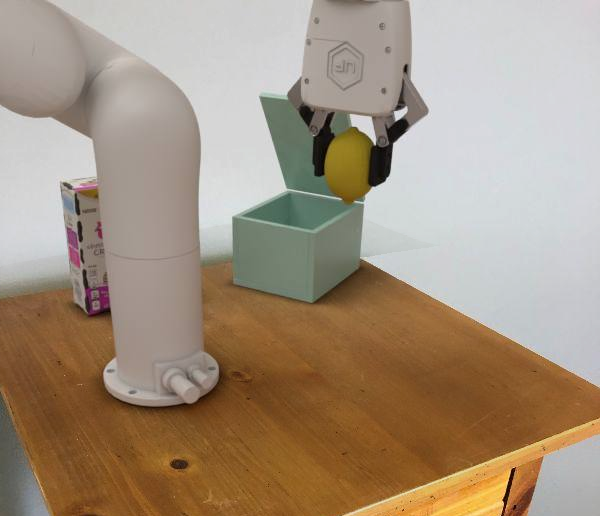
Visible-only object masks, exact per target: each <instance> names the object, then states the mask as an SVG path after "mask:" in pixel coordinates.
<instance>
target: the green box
mask: <svg viewBox="0 0 600 516" xmlns="http://www.w3.org/2000/svg"><path fill="white" fill-rule="evenodd" d="M364 209H365V203H363V202H357V201H354V202H353V203H352V204H351V205H346V204H345V203H344V202H343V200H342V199H340V198H335V197H329V196H324V195H318V194H312V193H307V192H301V191H296V190H290V189H286V191H283V192H281V193H279V194H277V195H275V196H272V197H270V198H268V199H265V200H264V201H262V202H260V203H257V204H255V205H254V206H252V207H249V208H248V209H245V210H243V211H241V212H239V213H237V214H235V215H232V217H231V225H232V227H231V228H232V230H231V233H232V234H231V235H232V283H233V285H236V286H239V287H244V288H248V289H252V290H256V291H260V292H264V293H269V294H272V295H276V296H281V297H284V298H288V299H292V300H297V301H301V302H304V303H305V302H306V303H310V304H313V303H315V302H316V301H318V300H319V299H320V298H321V297H322V296H324V295H325V294H327V293H328V292H329V291H331V290H332V289H333V288H335V287H336V286H337V285H339V284H340V283H342V282H343V281H344V280H345V279H347V278H348V277H349V276H350V275H352V274H353V273H355V272H356V271H357V270H359V269H360V263H361V252H362V238H363V226H364V225H363V223H364V211H365V210H364Z"/></svg>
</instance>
